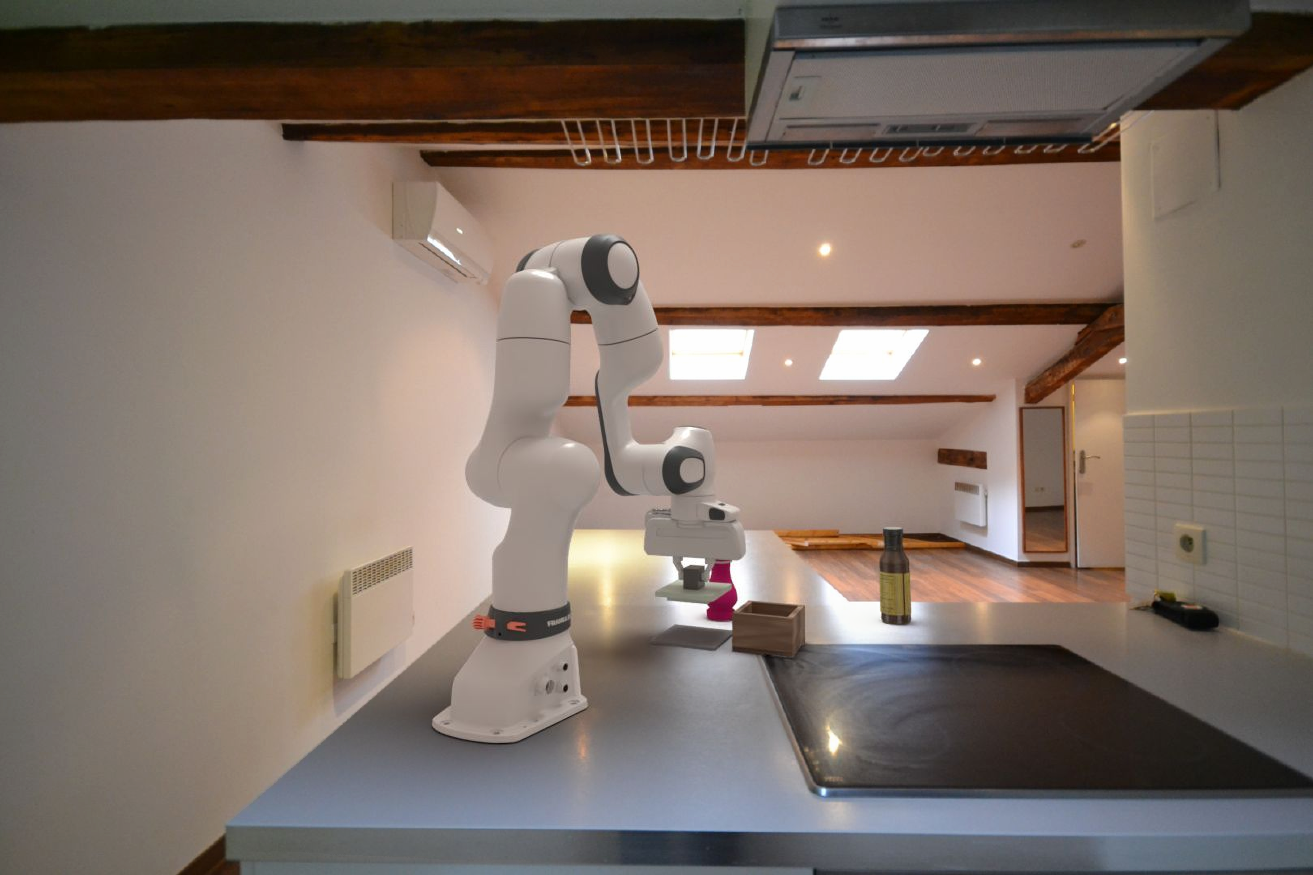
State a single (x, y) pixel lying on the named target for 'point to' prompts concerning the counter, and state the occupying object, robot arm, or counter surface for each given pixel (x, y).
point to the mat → (693, 637)
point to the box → (768, 628)
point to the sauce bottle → (894, 579)
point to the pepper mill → (725, 603)
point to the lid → (693, 588)
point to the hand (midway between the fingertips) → (694, 580)
